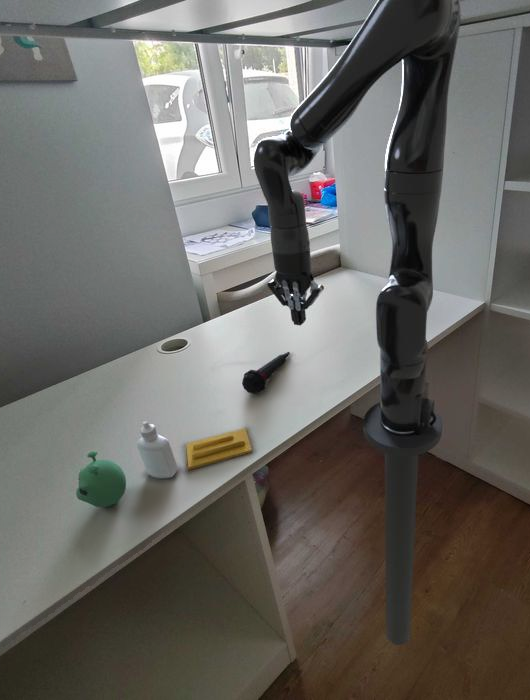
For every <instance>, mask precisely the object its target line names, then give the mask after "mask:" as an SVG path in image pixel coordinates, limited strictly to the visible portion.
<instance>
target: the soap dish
mask: <svg viewBox="0 0 530 700" xmlns="http://www.w3.org/2000/svg"><path fill="white" fill-rule="evenodd" d="M248 434H249V433H248V432H247V428H246V427H245V428H240V429H237V430H233V431H229V432H226V433H222V434H219V435H215V436H210V437H207V438H203V439H199V440H195V441H192V442H188V443H186V444H185V446H186V447H185V448H186V456H187V458H186V459H187V469H188V470H194V469H197V468H200V467H204V466H208V465H211V464H215V463H219V462H221V461H225V460H229V459H231V458H235V457H239V456H242V455H246V454H251V453H253V450H252V445H251V442H250V439H249V435H248Z"/></svg>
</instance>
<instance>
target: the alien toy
mask: <svg viewBox="0 0 530 700" xmlns="http://www.w3.org/2000/svg"><path fill="white" fill-rule="evenodd" d="M97 455H98V451H95V450H92V451H91V450H90V452H88V454H87V456H86V457H87V458H90V459H92V461H91V462H90V463H88V464H86V465H85V466H84V467H81V468H80V470H79V472H78V475H77V477H78V479H77V480H78V487H77V488H76V489H75V490H76V491H75V495H76V498H77V499H78V500H79V501H82V502H84V503H87V504H89V505H91V506H94V507H97V508H107V507H110V506H112V505H115V504H116V503H118V502H119V501H120V500H121V499H122V497H123V496H124V495H125V492H126V489H127V477H126V474H125V472H124V470H123V468H122V467H121V466H120V465H119V464H118V463H117V462H115V461H113V460H110V459H105V458H102V459H96V456H97Z"/></svg>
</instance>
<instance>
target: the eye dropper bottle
mask: <svg viewBox="0 0 530 700" xmlns="http://www.w3.org/2000/svg"><path fill="white" fill-rule="evenodd" d="M142 423H143V426H141V428H140V435H141V437H140V438H139V440H138V441H137V443H136V445H137V449H138V451H139V454H140V458H141V460H142V462H143V465H144V468H145V470H146V473H147V474H148V475H149V476H151V477H153V478H154V479H155V478H156V479H171V478H173V477H174V476H175V475H176V473H177V472H178V470H179V468H178V465H177V462H176V458H175V455H174V453H173V450H172V446H171V443H170V442H169V440H168V439H167V438H166V437H164V436H162V435H160V434H158V432H157V428H156V426H155V425H154V424H152V423H149V422H148V421H147V420H144V421H143V422H142Z"/></svg>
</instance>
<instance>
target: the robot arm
mask: <svg viewBox="0 0 530 700" xmlns="http://www.w3.org/2000/svg"><path fill="white" fill-rule="evenodd" d="M461 18H462V3H461V0H377V1H376V3H375V4H374V6H373V7H372V9H371V11H370V13H369V14H368V15H367V17H366V19H365V20H364V22H363V23H362V26H361V27H360V29H359V30H358V32H357V33H356V34H355V36H354V37H353V38H352V40H351V42H350V43H349V44H348V46H347V47H346V48H345V50H344V51H343V53H342V54H341V56H339V58H338V60H337V61H336V63H335V64H334V65H333V66H332V68H331V69H330V71H328V73H327V74H326V75H325V76H324V77H323V79H322V80H321V81H320V82H319V83H318V84H317V85H316V86H315V88H313V90H312V91H311V92H310V93H309V94H308V95H307V96H306V98H305V99H304V100H303V101H301V103H300V104H299V105H298V106H297V108H296V109H295V110H294V112H293V113H292V114H291V116H290V117H289V118H290V119H289V123H288V125H289V129H288V130H287V131H286V132H284V134H281V135H278V136H272V137H266V138H263V139H261V140H260V141H258V143H257V144H256V146H255V147H254V151H253V158H252V159H253V161H252V163H253V170H254V173H255V176H256V179H257V181H258V184H259V187H260V189H261V192H262V194H263V197H264V199H265V201H266V204H267V210H268V211H267V212H268V218H269V227H270V243H271V251H272V252H271V253H272V259H273V265H274V266H273V267H274V270H275V275H274V278H273V279H272V280H271V281H269V282H268V283H267V287H268V289H269V290H270V292H272V294H273V295H274V296H275V298H276V299H277V300H278V302H279V303H280V304H281V305H282V306H283V307H285V306H286V307H287V308H288V309H289V310H290V317H291V321H292V323H293V325H295V326H299V327H300V326H302V325H303V324H304V323H305V322H306V320H307V317H306V316H307V315H306V310H308V309H309V308H310V307H311V306H312V305H313V304H314V303H315V302H316V300H317V299H318V298H319V296H320V295H321V294H322V292H323V291H324V289H325V286H324V285H323V284H318V283H317V282H315V277H314V275H313V274H312V257H311V248H310V247H311V241H310V235H309V229H308V226H307V217H306V216H307V215H306V205H305V199H304V196H303V194H302V193H301V192H299V191H298V190H294V189H293V190H292V186H291V183H290V179H289V178H290V177H294V176H296V175H299V174H300V173H302V172H303V171H304V170H305V169H306V168H307V167H308V166H310V164H311V163H312V162H313V160H314V159H315V157H316V156H317V154H318V153H319V151H320V150H321V148H322V147H323V146H324V145H325V144H327V142H328V141H329V140H331V139H332V138H333V137H334V136H335V135H336V134H337V133H338V132H339V131H340V130H341V129H342V128H343V127H344V126H345V125H346V124H347V122H349V120H350V119H351V117H353V115H354V114H355V112H356V111H357V109H358V108H359V106H360V104H361V103H362V102H363V99H364V98H365V97H366V95H367V93H368V92H369V91H370V90H371V88H372V87H373V86H374V85H375V84H376V83H377V81H378V80H379V79H380V78H382V77H383V75H385V74H387V72H388V71H390V70H391V69H392V68H393V67H395V66H396V65H398V64H399V63H401V62H402V83H401V95H400V100H399V105H398V110H397V113H396V117H395V119H394V123H393V126H392V129H391V132H390V136H389V139H388V142H387V147H386V152H385V160H384V180H383V181H384V185H383V186H384V187H383V196H384V197H383V198H384V207H385V213H386V218H387V222H388V227H389V231H390V237H391V256H390V265H389V273H388V278H387V280H386V283H385V284H384V286H383V287H382V288H381V290H380V292H379V293H378V295H377V298H376V302H375V328H376V330H375V331H376V341H377V346H378V348H379V360H380V361H379V362H380V363H379V366H380V367H379V371H380V372H379V375H380V380H379V381H380V383H379V384H380V401H379V402H380V403H379V402H378V403H379V409H380V408H381V417H380V422H381V425H382V427H383V428H384V429H385V430H386V431H387V432H389V433H391V434H394V435H398V436H409V435H420V432H421V430H422V428H423V427H424V424H425V423H426V424H429V421H430V419H431V417H433V420H432V421H431V422H430V425H431V426H432V425H433V424H434V423H435V422H436V415H435V414H434V410H435V399H431V398H429V387H430V386H429V385H430V383H429V382H427V371H428V370H427V369H428V353H429V342H428V340H427V319H428V311H429V310H430V306H431V304H432V301H433V297H434V282H433V281H434V280H433V245H434V239H435V238H434V237H435V233H436V228H437V223H438V217H439V211H440V203H441V195H442V189H443V188H442V187H443V178H444V164H445V163H444V161H445V146H446V134H447V122H448V121H447V119H448V99H449V98H448V97H449V89H450V82H451V76H452V71H453V64H454V59H455V54H456V48H457V44H458V39H459V38H458V37H459V33H460V27H461V20H462V19H461ZM308 291H309V293H310V294H309V295H308ZM307 295H308V297H307Z"/></svg>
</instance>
